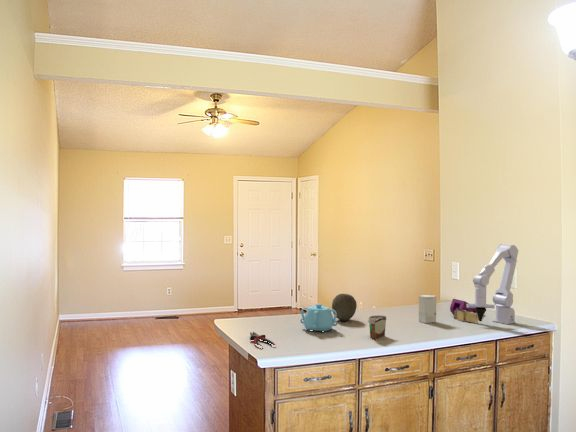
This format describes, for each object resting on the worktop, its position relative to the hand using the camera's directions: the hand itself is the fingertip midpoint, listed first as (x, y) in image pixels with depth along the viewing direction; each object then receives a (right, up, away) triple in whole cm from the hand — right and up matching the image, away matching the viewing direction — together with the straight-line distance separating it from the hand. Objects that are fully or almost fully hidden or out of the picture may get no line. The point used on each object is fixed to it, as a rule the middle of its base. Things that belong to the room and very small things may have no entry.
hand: (480, 320), depth 270 cm
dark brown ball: (-75, -1, +7) cm, 75 cm away
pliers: (-120, -2, -40) cm, 127 cm away
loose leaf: (-4, -1, +6) cm, 8 cm away
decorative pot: (-91, -2, -15) cm, 92 cm away
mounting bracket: (+2, -2, +25) cm, 26 cm away
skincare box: (-28, -2, +5) cm, 29 cm away
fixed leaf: (-7, -2, +11) cm, 13 cm away
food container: (-64, -2, -29) cm, 70 cm away
